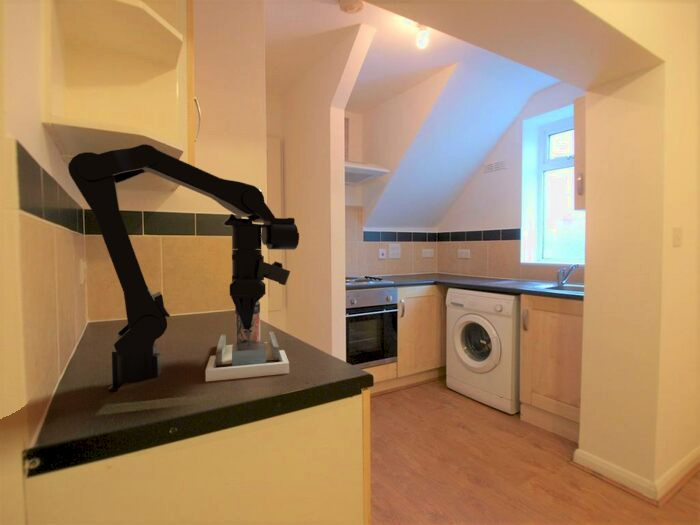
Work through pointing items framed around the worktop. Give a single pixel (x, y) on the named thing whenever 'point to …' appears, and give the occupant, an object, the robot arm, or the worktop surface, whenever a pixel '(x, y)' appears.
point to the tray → (246, 369)
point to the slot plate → (226, 350)
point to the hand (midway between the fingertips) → (247, 326)
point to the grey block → (248, 353)
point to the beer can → (254, 331)
